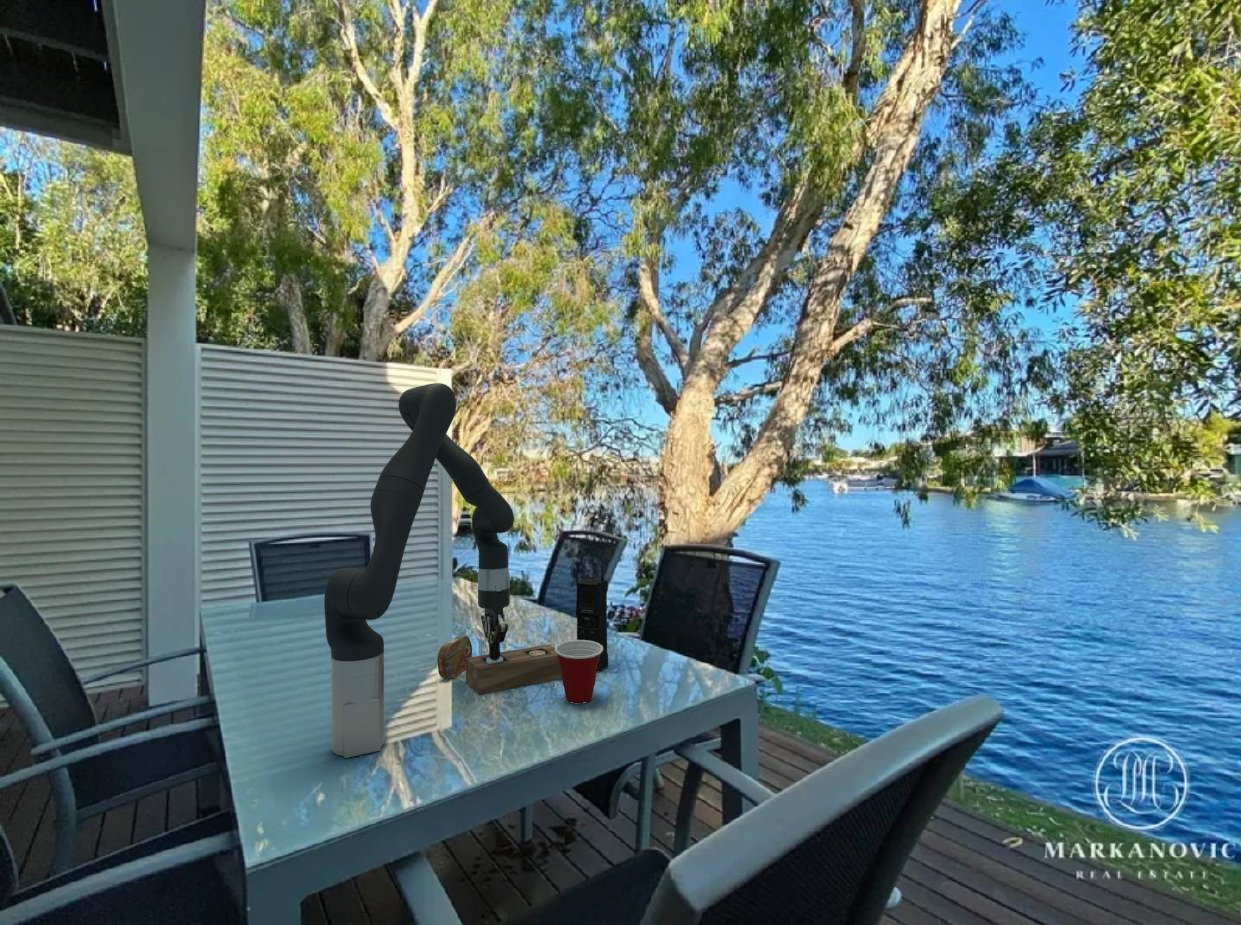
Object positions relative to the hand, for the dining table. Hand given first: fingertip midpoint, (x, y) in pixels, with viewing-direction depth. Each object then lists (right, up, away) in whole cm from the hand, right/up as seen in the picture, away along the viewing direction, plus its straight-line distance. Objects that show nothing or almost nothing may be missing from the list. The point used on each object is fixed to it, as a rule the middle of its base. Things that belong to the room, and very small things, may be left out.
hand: (494, 658), depth 155 cm
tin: (-12, -7, +9) cm, 16 cm away
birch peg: (+10, -6, +6) cm, 13 cm away
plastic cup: (+21, -6, -11) cm, 24 cm away
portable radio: (+22, -6, +12) cm, 26 cm away
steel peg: (0, -6, 0) cm, 6 cm away
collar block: (+5, -6, +3) cm, 8 cm away
